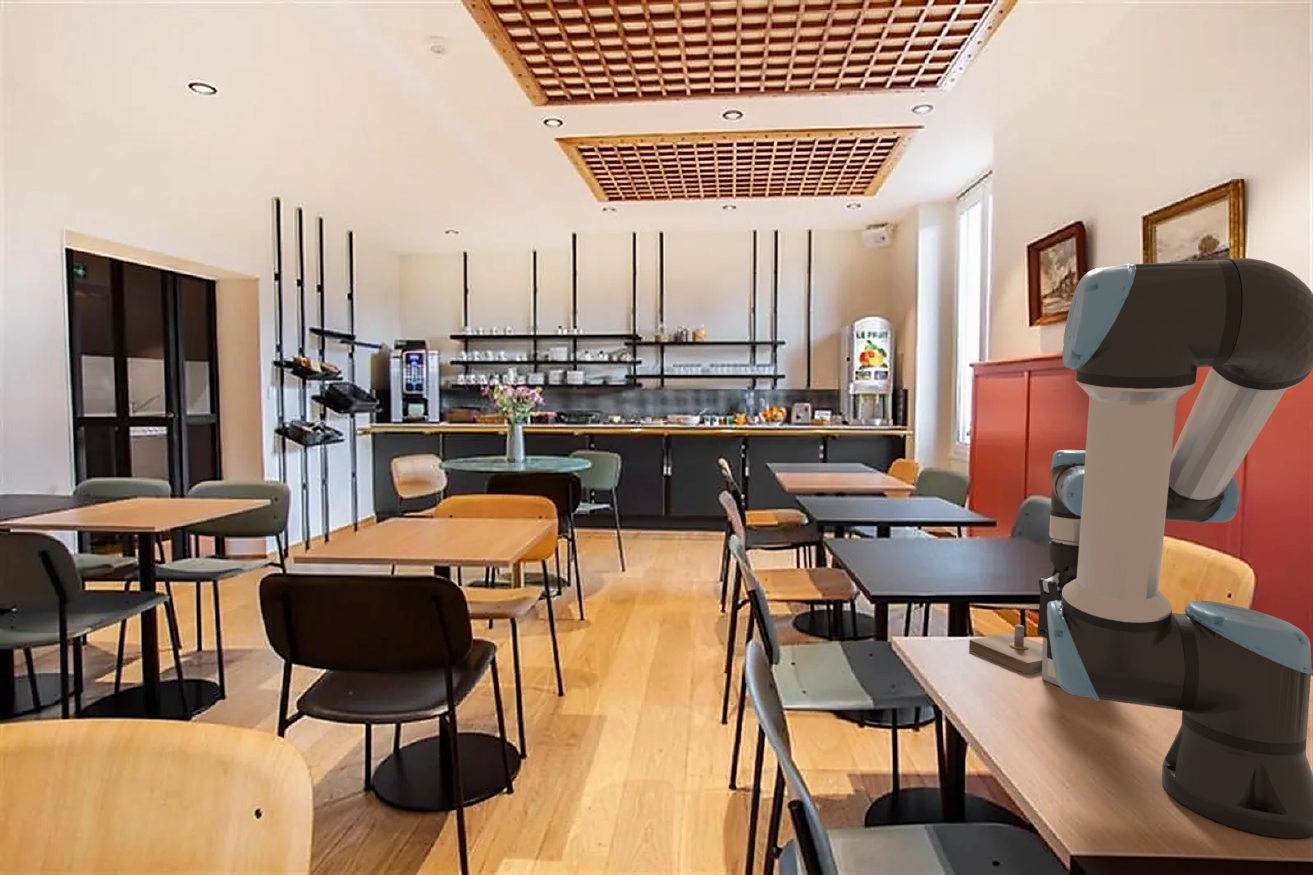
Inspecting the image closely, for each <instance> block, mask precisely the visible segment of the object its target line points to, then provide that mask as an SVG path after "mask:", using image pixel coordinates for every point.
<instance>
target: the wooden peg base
mask: <svg viewBox="0 0 1313 875" xmlns="http://www.w3.org/2000/svg"><path fill="white" fill-rule="evenodd" d="M968 646H969V649H968V650H969V651H970V652H974V653H975V654H978V655H981V656H983V657H985V658H987V659H990V660H992V661H995V662H997V663H999V664H1003V665H1004V666H1006V667H1009V668H1012V669H1013V670H1017V671H1019V672H1021V673H1024V674H1025V675H1031V674H1033V673H1035V674H1036V673H1040V672H1042V655H1043V643H1040V642H1039V641H1035V640H1032V639H1029V638H1027V637H1025V625H1021V624H1015V625H1014V632H1008V633H1007V632H1006V633H1002V634H996V635H990V636H985V637H979V638H973V639H969V643H968Z"/></svg>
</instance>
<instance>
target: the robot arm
mask: <svg viewBox="0 0 1313 875" xmlns="http://www.w3.org/2000/svg"><path fill="white" fill-rule="evenodd" d="M1062 347H1063V348H1062V352H1061V354H1062V355H1061V356H1062V363H1063V365H1064V367H1065V368H1067V369H1070V370H1071V371H1073V370H1075V371H1076V372H1075V373H1076V375H1075V376H1076V377H1075V383H1076V384H1077V385H1078V386H1079V387H1080V388H1081V389H1082V390H1083V391H1084V393H1086V394H1087V395H1088V398H1089V400H1088V411H1087V412H1088V415H1087V428H1086V429H1087V430H1086V440H1085V441H1086V442H1085V449H1084V450H1082V449H1060V450H1056V451H1055V452H1054V453H1053V454H1052V462H1051V467H1050V472H1051V480H1050V481H1051V482H1050V484H1051V486H1050V487H1051V489H1050V490H1051V491H1050V492H1051V493H1050V514H1049V532H1048V536H1049V537H1050V538H1051V540H1050V541H1049V544H1048V560H1049V562H1051V563H1052V565H1053V570H1052V573H1051V577H1049V578H1047V579H1046V578H1042V577H1041V578H1039V579H1038V585H1039V592H1040V596H1039V608H1038V620H1037V635H1038V637H1042V638H1043V637H1044V638H1046V639H1047V658H1048V672H1047V675H1048V676H1051V677H1053V678H1056V679H1057V681H1058V684H1059V685H1060V686H1059V687H1060V688H1061V689H1062V690H1063V691H1064V692H1065V693H1068V694H1069V695H1073V696H1079V697H1085V698H1089V699H1094V700H1095V701H1097V702H1098V701H1099V702H1101V700H1103V701H1111V702H1116V703H1123V704H1130V705H1137V706H1138V705H1139V706H1145V707H1151V708H1159V709H1166V710H1175V711H1180V712H1181V711H1182V712H1181V725H1180V728H1179V730H1178V732H1177V733H1176V736H1175V737H1174V740H1173V741H1172V743H1171V745H1170V748H1169V749H1168V751H1167V753H1166V755H1165V757H1164V759H1163V763H1162V765H1161V766H1162V770H1161V784H1162V786H1163V787H1164V789H1165V791H1166V792H1167V793H1168V794H1169V795H1170V796H1171V797H1172V798H1173V799H1175V800H1176V801H1177V802H1179V803H1180V804H1182V805H1183V806H1184V807H1186V808H1187V809H1189V810H1191V811H1193V812H1195V813H1197V814H1199V815H1201V816H1203V817H1206V818H1207V819H1211V820H1212V821H1215V822H1217V823H1220V824H1223V825H1225V826H1228V827H1231V828H1235V829H1237V830H1241V831H1244V832H1247V833H1252V834H1258V835H1261V836H1268V837H1273V838H1285V839H1302V838H1309V837H1312V836H1313V772H1312V769H1311V766H1310V765H1311V764H1310V763H1309V759H1308V757H1307V740H1308V739H1307V738H1308V723H1309V709H1310V708H1309V705H1310V691H1311V678H1312V675H1313V668H1312V658H1311V656H1312V655H1311V654H1312V652H1311V642H1310V639H1309V637H1308V636H1307V635H1306V633H1305V632H1304V631H1303V630H1301V629H1300V628H1299V627H1297V626H1296V625H1294V624H1292V623H1290V622H1288V621H1285V620H1284V619H1281V618H1279V617H1276V616H1273V615H1270V614H1266V613H1263V612H1260V611H1258V610H1254V609H1250V608H1246V607H1243V606H1238V605H1233V604H1229V603H1228V604H1227V603H1223V602H1219V601H1218V602H1217V601H1210V600H1192V601H1190V602H1188V603H1187V604H1186V606H1185V607H1184V612H1185V613H1177V612H1173V606H1172V603H1171V601H1170V600H1169V599H1168V597H1166V596H1165V595H1164V594H1162V593H1161V592H1160V589H1159V588H1160V577H1161V568H1162V558H1163V557H1162V556H1163V546H1164V536H1165V527H1166V526H1165V525H1166V521H1174V522H1175V521H1177V522H1179V521H1180V522H1190V523H1191V522H1193V523H1198V524H1204V523H1227V522H1230V521H1231V520H1232V519H1233V518H1234V517H1235V516H1236V514H1237V510H1238V506H1239V502H1240V490H1239V485H1238V482H1237V479H1236V478H1235V477H1234V476H1235V473H1236V472H1237V471H1238V469H1239V467H1240V465H1241V464H1242V462H1243V460H1244V459H1245V457H1246V456H1247V454H1248V452H1249V451H1250V449H1251V447H1252V446H1253V444H1254V442H1255V441H1256V439H1257V438H1258V436H1259V435H1260V433H1261V431H1262V430H1263V428H1264V426H1265V425H1266V423H1267V422H1268V420H1269V419H1270V417H1271V416H1272V414H1273V412H1274V411H1275V408H1276V407H1277V405H1278V404H1279V402H1280V401H1281V398H1282V397H1283V395H1284V394H1285V392H1286V391H1287V390H1288V389H1291V388H1294V387H1297V386H1298V385H1300V384H1301V383H1302V382H1303V381H1304V380H1306V379H1307V377H1308V376H1309V374H1310V373H1311V372H1312V370H1313V291H1312V290H1311V289H1310V287H1308V285H1307V284H1306V283H1305V282H1304V281H1302V280H1301V279H1300V278H1299V277H1298V276H1296V274H1294V273H1293V272H1291V271H1290V270H1287V269H1286V268H1283V267H1282V266H1279V265H1277V264H1274V263H1271V262H1268V261H1265V260H1261V259H1257V258H1249V257H1235V258H1234V257H1233V258H1225V259H1214V260H1212V259H1211V260H1210V259H1209V260H1193V261H1192V260H1191V261H1190V260H1188V261H1171V262H1156V263H1153V262H1152V263H1131V262H1130V263H1127V264H1122V265H1113V266H1105V267H1098V268H1094V269H1092V270H1090V271H1088V272H1087V273H1085V274H1084V275H1083V276H1082V277H1081V279H1080V280H1079V281H1078V284H1077V286H1076V288H1075V290H1074V293H1073V296H1072V299H1071V302H1070V306H1069V310H1068V314H1067V317H1066V323H1065V328H1064V334H1063V346H1062ZM1204 367H1205V368H1206V367H1210V369H1209V371H1208V374H1207V375H1206V378H1205V380H1204V382H1203V385H1201V388H1200V390H1199V392H1198V395H1197V396H1196V399H1195V401H1194V404H1193V406H1192V409H1191V411H1190V413H1189V415H1188V417H1187V418H1186V421H1185V423H1184V426H1183V428H1182V430H1181V432H1180V434H1179V437H1178V439H1177V441H1176V442H1175V445H1174V447H1173V443H1174V433H1175V423H1176V422H1175V421H1176V413H1177V403H1178V401H1179V400H1178V399H1179V398H1180V397H1181V396H1183V395H1184V394H1185V393H1187V392H1189V391H1190V390H1191V389H1193V388H1194V387H1195V386H1196V382H1197V374H1198V368H1204Z"/></svg>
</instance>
